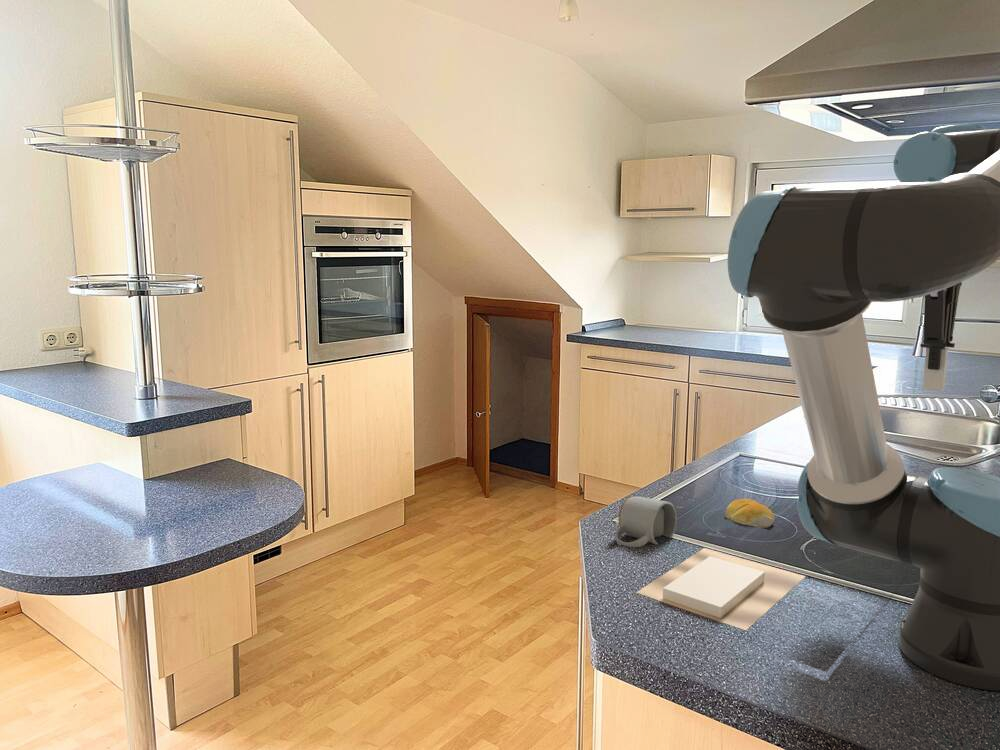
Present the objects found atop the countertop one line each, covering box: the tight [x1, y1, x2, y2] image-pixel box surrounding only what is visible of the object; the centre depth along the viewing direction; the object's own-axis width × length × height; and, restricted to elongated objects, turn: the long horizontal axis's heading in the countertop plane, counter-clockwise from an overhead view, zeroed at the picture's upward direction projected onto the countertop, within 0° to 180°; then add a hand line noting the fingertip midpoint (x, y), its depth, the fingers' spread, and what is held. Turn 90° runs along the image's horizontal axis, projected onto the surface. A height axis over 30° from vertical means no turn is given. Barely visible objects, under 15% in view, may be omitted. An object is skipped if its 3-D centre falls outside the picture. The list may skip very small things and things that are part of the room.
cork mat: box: [636, 547, 806, 631], centre depth 115 cm, size 22×17×1 cm
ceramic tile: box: [663, 556, 765, 618], centre depth 113 cm, size 2×9×15 cm
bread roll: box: [725, 498, 776, 529], centre depth 143 cm, size 8×9×4 cm
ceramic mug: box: [615, 496, 678, 548], centre depth 133 cm, size 11×8×8 cm
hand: (933, 389), depth 117 cm, fingers closed
